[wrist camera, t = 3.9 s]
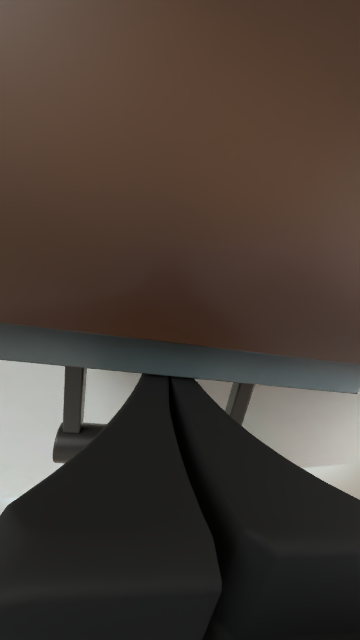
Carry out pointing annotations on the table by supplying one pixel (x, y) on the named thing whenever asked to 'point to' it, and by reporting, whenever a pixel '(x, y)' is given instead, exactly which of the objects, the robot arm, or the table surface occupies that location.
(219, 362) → the drawer
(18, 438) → the table surface
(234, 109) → the cabinet
